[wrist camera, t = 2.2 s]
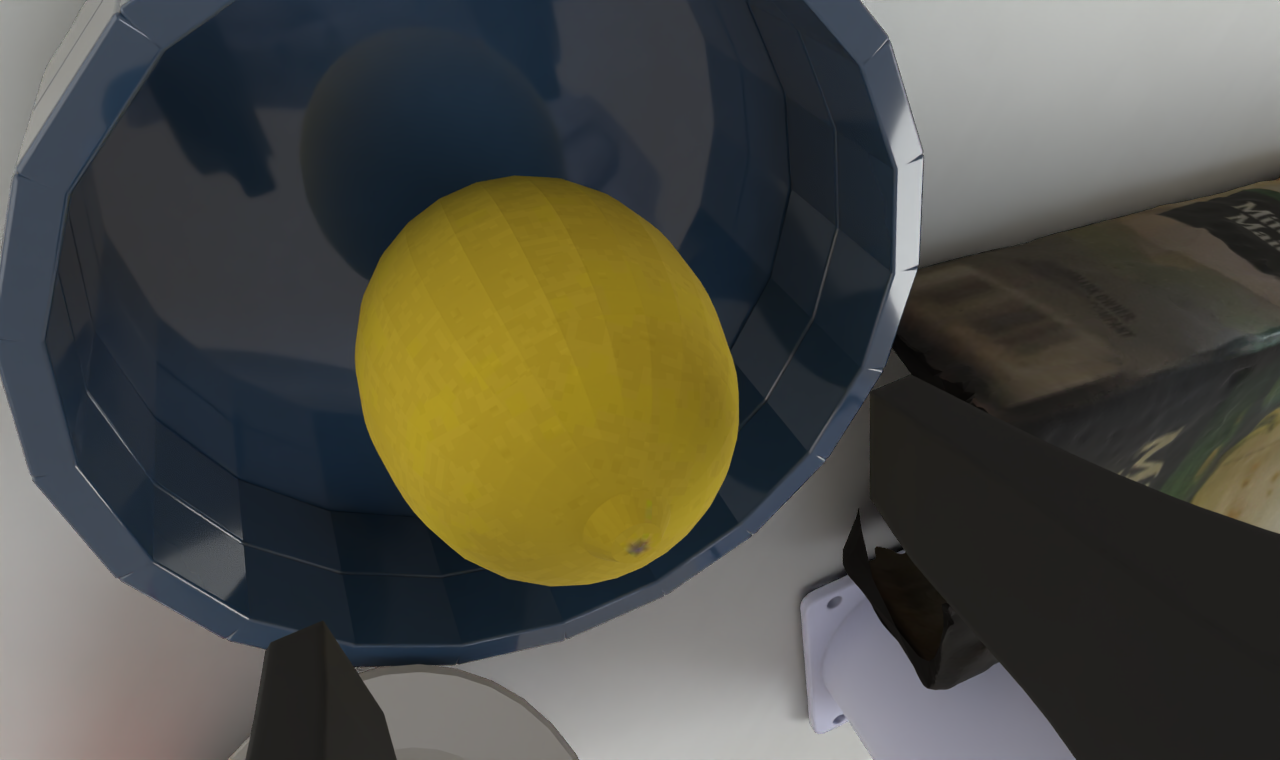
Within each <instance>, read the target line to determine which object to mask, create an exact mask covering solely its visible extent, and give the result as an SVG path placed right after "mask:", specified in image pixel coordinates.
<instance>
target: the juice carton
mask: <svg viewBox="0 0 1280 760" xmlns="http://www.w3.org/2000/svg"><path fill="white" fill-rule="evenodd" d="M892 349H893V350H894V351H895V353H896V354H897V355H898V357H899V358H900V359H901V361H902V362H903V363H904V365H905V366H906V367H907V369H908V370H909V371H910V373H911V374H912V376H914V377H917V378H919V379H921V380H923V381H925V382H927V383H929V384H931V385H933V386H935V387H937V388H939V389H941V390H943V391H945V392H947V393H949V394H951V395H953V396H955V397H957V398H959V399H961V400H963V401H965V402H967V403H969V404H971V405H973V406H975V407H977V408H978V409H980V410H982V411H984V412H986V413H988V414H990V415H992V416H994V417H997V418H999V419H1001V420H1003V421H1005V422H1007V423H1009V424H1011V425H1013V426H1015V427H1017V428H1019V429H1021V430H1023V431H1025V432H1027V433H1029V434H1031V435H1033V436H1035V437H1037V438H1039V439H1041V440H1044V441H1046V442H1048V443H1050V444H1052V445H1054V446H1056V447H1058V448H1061V449H1063V450H1065V451H1067V452H1069V453H1071V454H1074V455H1076V456H1078V457H1080V458H1082V459H1085V460H1087V461H1089V462H1091V463H1094V464H1096V465H1098V466H1100V467H1103V468H1105V469H1107V470H1109V471H1112V472H1114V473H1116V474H1119V475H1121V476H1124V477H1126V478H1129V479H1131V480H1133V481H1136V482H1138V483H1141V484H1143V485H1146V486H1148V487H1150V488H1153V489H1155V490H1158V491H1160V492H1163V493H1165V494H1168V495H1170V496H1173V497H1175V498H1178V499H1181V500H1183V501H1186V502H1189V503H1191V504H1194V505H1197V506H1199V507H1202V508H1205V509H1208V510H1211V511H1213V512H1216V513H1219V514H1222V515H1225V516H1228V517H1231V518H1234V519H1237V520H1240V521H1243V522H1246V523H1248V524H1251V525H1254V526H1257V527H1260V528H1263V529H1266V530H1269V531H1272V532H1276V533H1279V534H1280V178H1278V179H1276V180H1273V181H1261V182H1256V183H1254V184H1250V185H1247V186H1244V187H1240V188H1237V189H1233V190H1230V191H1227V192H1224V193H1219V194H1215V195H1212V196H1207V197H1201V198H1197V199H1193V200H1189V201H1185V202H1179V203H1174V204H1167V205H1161V206H1158V207H1155V208H1152V209H1149V210H1145V211H1142V212H1138V213H1134V214H1130V215H1126V216H1123V217H1119V218H1115V219H1111V220H1107V221H1102V222H1100V223H1095V224H1091V225H1088V226H1084V227H1080V228H1076V229H1072V230H1068V231H1065V232H1060V233H1056V234H1052V235H1049V236H1046V237H1042V238H1039V239H1036V240H1034V241H1031V242H1028V243H1025V244H1021V245H1016V246H1011V247H1006V248H1001V249H995V250H991V251H987V252H982V253H979V254H975V255H970V256H966V257H962V258H958V259H954V260H950V261H947V262H943V263H939V264H936V265H932V266H928V267H924V268H920V269H918V271H917V274H916V277H915V280H914V283H913V286H912V289H911V292H910V295H909V298H908V301H907V304H906V307H905V310H904V313H903V316H902V319H901V322H900V325H899V328H898V331H897V334H896V337H895V340H894V343H893V346H892ZM875 554H876V558H875V559H874V560H870V561H869V560H868V556H867V552H866V547H865V543H864V538H863V534H862V530H861V521H860V511H859V509H858V512H857V516H856V519H855V521H854V524H853V526H852V529H851V531H850V534H849V536H848V539H847V541H846V544H845V546H844V549H843V566H844V568H845V570H846V572H847V574H848V576H849V577H850V578H851V579H852V581H853V582H854V583H855V584H856V585H857V586H858V587H859V588H860V590H861V591H862V592H863V593H864V595H865V596H866V598H867V599H868V600H869V602H870V603H871V605H872V607H873V610H874V611H875V613H876V615H877V616H878V618H879V620H880V621H881V623H882V624H883V626H884V627H885V628H886V629H887V630H888V631H889V632H890V634H891V635H892V636H893V637H894V638H895V639H896V640H897V641H898V642H899V644H900V646H901V647H902V649H903V650H904V652H905V654H906V655H907V657H908V659H909V660H910V662H911V663H912V665H913V667H914V669H915V671H916V673H917V675H918V677H919V679H920V681H921V683H922V684H923V686H924V687H926V688H927V689H931V690H947V689H950V688H952V687H954V686H956V685H957V684H959V683H962V682H964V681H966V680H968V679H970V678H973V677H975V676H977V675H979V674H981V673H983V672H985V671H986V670H988V669H989V668H990V667H991V666H993V665H994V664H996V663H999V661H998V660H997V659H996V658H995V657H994V655H993V654H992V653H991V652H990V651H989V650H988V649H987V647H986V646H985V645H984V644H983V643H982V642H981V641H980V639H979V638H978V637H977V636H976V635H975V634H974V633H973V631H972V630H971V629H970V628H969V627H968V626H967V624H966V623H965V622H964V621H963V620H962V619H961V618H960V616H959V615H958V614H957V613H956V612H955V611H954V610H953V608H952V607H951V606H950V605H949V604H948V603H947V601H946V600H945V599H944V598H943V597H942V596H941V594H940V593H939V592H938V591H937V590H936V589H935V587H934V586H933V585H932V584H931V583H930V582H929V580H928V579H927V578H926V577H925V576H924V575H923V573H922V572H921V571H920V570H919V569H918V567H917V566H916V565H915V564H914V563H913V561H912V560H911V559H910V557H909V556H908V554H907V553H906V552H905V553H904V554H898V553H896V552H894V551H893V550H890V549H887V548H883V547H876V548H875Z"/></svg>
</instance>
